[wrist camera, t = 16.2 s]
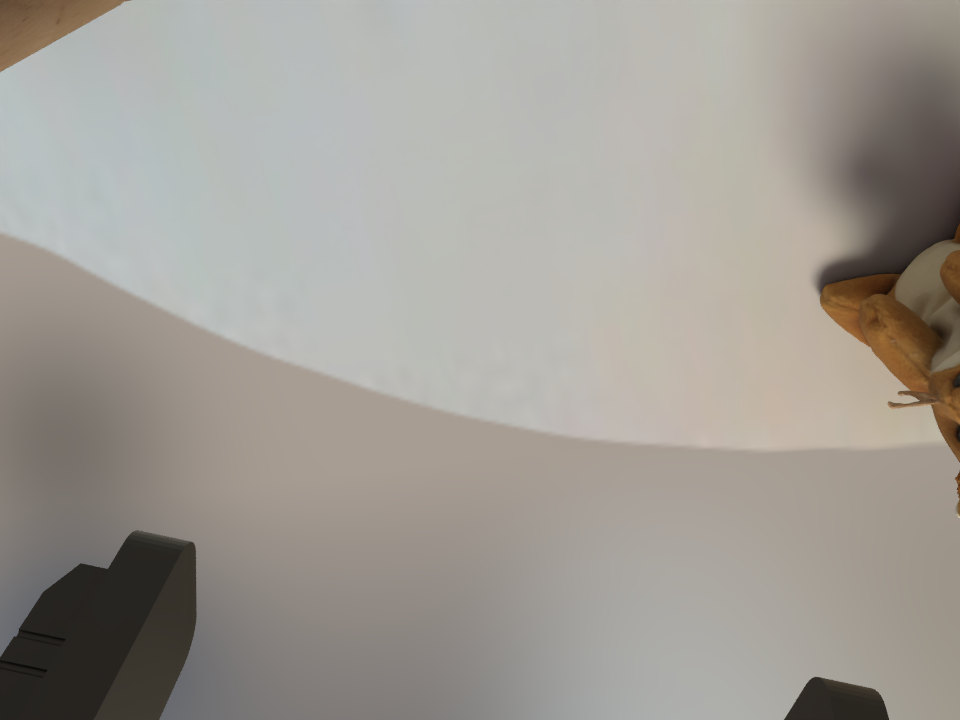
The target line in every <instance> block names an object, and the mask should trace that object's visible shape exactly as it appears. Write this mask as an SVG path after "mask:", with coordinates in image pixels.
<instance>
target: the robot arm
mask: <svg viewBox="0 0 960 720" xmlns="http://www.w3.org/2000/svg"><path fill="white" fill-rule="evenodd" d="M195 624H196V549H195V545H194V543H193V542H190V541H185V540H180V539H176V538H170V537H166V536H161V535H157V534H152V533H147V532H143V531H138V530H137V531H134V532H132V533H131V534H130V535H129V536H128V537H127V539H126V540H125V542H124V543H123V545H122V547H121V548H120V550H119V551H118V553H117V555H116V557H115V558H114V560H113V562H112V563H111V565H110V567H109V568H108V569H105V568H100V567H95V566H91V565H86V564H79V565H78V566H77V567H75V568H74V569H73V570H72V571H70V572H69V573H68V574H66V575H65V576H64V577H62V578H61V579H60V580H59V581H57V582H56V583H55V584H53V585H52V586H51V587H49V588H48V589H47V590H45V591H44V592H43V593H42V595H41V596H40V598H39V599H38V601H37V602H36V604H35V605H34V607H33V609H32V610H31V612H30V613H29V615H28V617H27V618H26V619H25V621H24V622H23V624H22V625H21V627H20V628H19V633H18V635H17V637H13V639H12V641H11V642H10V643H9V645H8V647H7V648H6V650H5V651H4V653H3V654H2V656H1V657H0V720H159V719H160V716H161V714H162V712H163V710H164V708H165V705H166V703H167V701H168V699H169V697H170V695H171V692H172V690H173V688H174V686H175V683H176V681H177V679H178V677H179V675H180V672H181V671H182V668H183V666H184V664H185V661H186V659H187V656H188V653H189V650H190V647H191V643H192V640H193V636H194V631H195ZM784 720H889V718H888V714H887V710H886V707H885V704H884V701H883V699H882V697H881V695H880V694H879V693H878V692H877V691H876V690H874V689H871V688H867V687H862V686H858V685H852V684H848V683H843V682H839V681H834V680H829V679H825V678H820V677H814V678H812V679H811V680H809V682H808V683H807V684H806V686H805V687H804V689H803V691H802V692H801V694H800V695H799V697H798V698H797V700H796V702H795V703H794V705H793V707H792V708H791V710H790V711H789V713H788V714H787V716H786V718H785V719H784Z"/></svg>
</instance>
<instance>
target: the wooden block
mask: <svg viewBox="0 0 960 720" xmlns="http://www.w3.org/2000/svg"><path fill="white" fill-rule="evenodd" d="M124 1H130V0H0V72H1V71H3V70H5V69H6V68H8V67H10V66H12V65H13V64H15V63H17V62H19V61H21V60H22V59H24V58H26V57H28V56H30V55H31V54H33V53H35V52H37V51H38V50H40V49H42V48H44V47H46V46H47V45H49V44H51V43H53V42H55V41H56V40H58V39H60V38H62V37H63V36H65V35H67V34H69V33H71V32H72V31H74V30H76V29H78V28H80V27H81V26H83V25H85V24H87V23H88V22H90V21H92V20H94V19H96V18H97V17H99V16H101V15H103V14H105V13H106V12H108V11H110V10H112V9H113V8H115V7H117V6H119V5H121V4H122V3H123V2H124Z"/></svg>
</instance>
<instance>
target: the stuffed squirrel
mask: <svg viewBox="0 0 960 720" xmlns="http://www.w3.org/2000/svg"><path fill="white" fill-rule="evenodd" d="M820 303H821V306H822V308H823V309H824V310H825V312H826V313H827V314H828V315H829V316H830V317H831V318H832V319H833V320H834V321H835V322H836V323H837V324H839V325H840V326H841V327H842V328H843V329H845V330H846V331H847V332H849V333H850V334H852V335H853V336H854V337H856V338H857V339H858V340H859V341H861V342H863V343H865V344H866V345H868V346H869V347H871V349H872V351H873V352H874V354H875V355H876V356H877V357H878V358H879V359H880V360H881V361H882V362H883V363H884V364H885V365H886V367H887V368H888V369H889V370H890V372H891V373H892V374H893V375H894V376H896V377H897V378H898V379H899V380H900V381H901V382H902V383H903V384H904V385H905V386H906V387H907V388H908V389H909V390H910V391H899V392H898V395H900V396H903V395H911V396H913V397H916V398H917V399H918V400H920V401H918V402H913V403H910V404H901V403H892V402H888V406H889V407H890V408H891V409H894V408H901V407H911V406H923V405H931V406H932V409H933V412H934V416H935V419H936V421H937V424H938V427H939V429H940V431H941V433H942V435H943V437H944V439H945V441H946V442H947V444H948V445H949V447H950V448H951V450H952V451H953V453H954V454H955V456H956V457H957V459H958V461H959V462H960V223H959V225H958V228H957V231H956V234H955V238H954V239H951V240H944V241H941V242H938V243H936V244H934V245H932V246H931V247H929V248H928V249H926V250H924V251H923V252H921V253H920V254H919V255H918V256H917V257H916V258H915V259H914V260H913V261H912V262H911V264H910V265H909V266H908V267H907V268H906V269H905V271H904V272H903V273H902V274H878V275H871V276H866V277H858V278H854V279H849V280H844V281H839V282H836V283H832V284H827V285H826V286H825V287H824V288H823V290H822V293H821V296H820ZM955 479H956V481H957V483H958V488H957V490H958V492H957V493H958V494H959V499H960V472H959V474H958V476H957V477H956V478H955ZM956 514H957V516H958V517H959V518H960V500H959V502H958V504H957V506H956Z"/></svg>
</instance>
